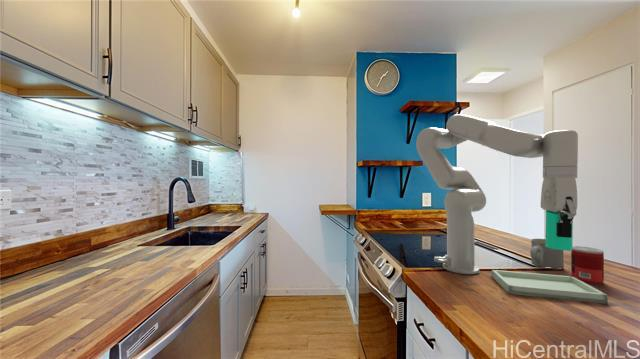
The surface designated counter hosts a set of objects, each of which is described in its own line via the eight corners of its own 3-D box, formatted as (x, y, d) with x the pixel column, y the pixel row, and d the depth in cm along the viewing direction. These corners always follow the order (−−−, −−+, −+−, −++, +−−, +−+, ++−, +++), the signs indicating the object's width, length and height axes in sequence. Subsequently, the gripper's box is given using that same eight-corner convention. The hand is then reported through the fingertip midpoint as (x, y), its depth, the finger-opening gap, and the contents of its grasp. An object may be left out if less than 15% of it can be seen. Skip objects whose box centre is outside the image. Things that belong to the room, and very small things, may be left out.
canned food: (610, 285, 87) (610, 252, 87) (582, 283, 89) (582, 251, 89) (591, 277, 94) (591, 246, 95) (565, 275, 96) (565, 245, 96)
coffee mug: (546, 261, 113) (546, 238, 113) (570, 269, 103) (570, 243, 103) (518, 262, 112) (517, 238, 112) (539, 270, 102) (539, 244, 102)
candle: (539, 245, 80) (540, 205, 80) (558, 245, 80) (559, 206, 80) (558, 250, 74) (559, 208, 74) (578, 250, 74) (579, 208, 74)
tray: (509, 293, 80) (508, 285, 80) (491, 276, 95) (491, 269, 95) (607, 303, 74) (607, 295, 74) (572, 283, 88) (572, 276, 88)
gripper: (531, 173, 86) (530, 228, 86) (559, 172, 70) (558, 240, 70) (559, 173, 83) (558, 230, 84) (595, 172, 67) (594, 242, 67)
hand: (558, 234), depth 77 cm, fingers closed on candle, 4 cm apart
